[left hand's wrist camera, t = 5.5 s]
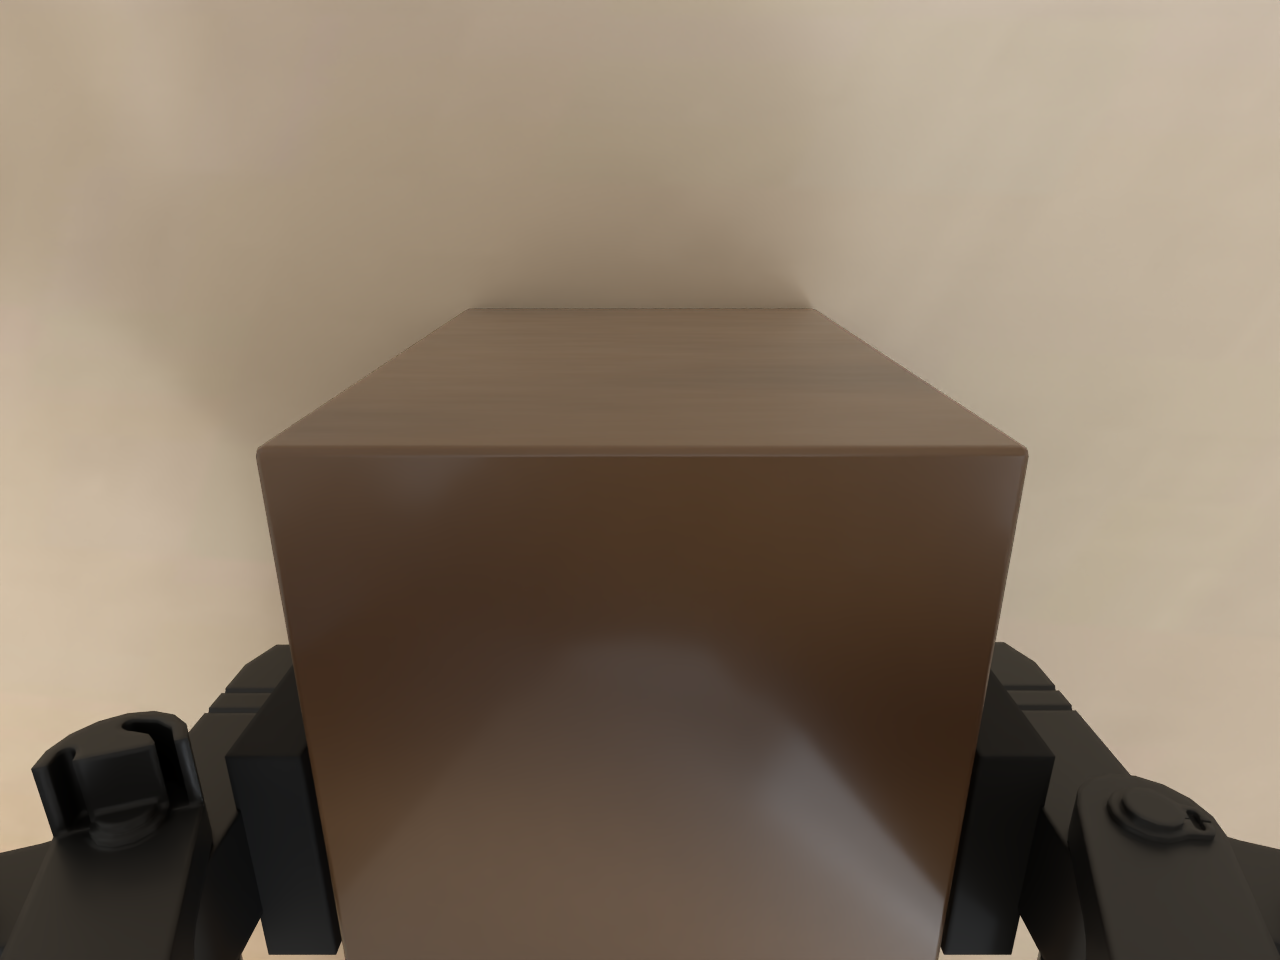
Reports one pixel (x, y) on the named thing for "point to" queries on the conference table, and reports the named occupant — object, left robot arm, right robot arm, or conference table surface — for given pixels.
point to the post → (641, 637)
